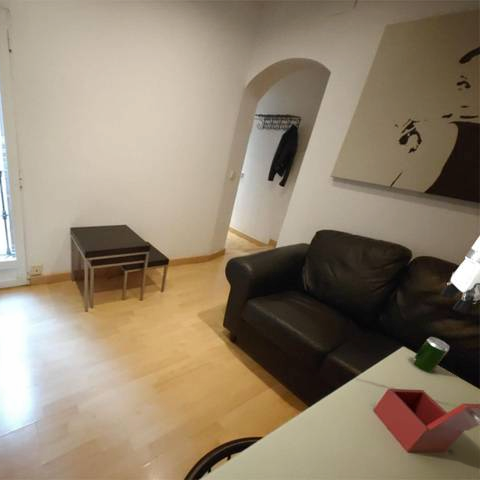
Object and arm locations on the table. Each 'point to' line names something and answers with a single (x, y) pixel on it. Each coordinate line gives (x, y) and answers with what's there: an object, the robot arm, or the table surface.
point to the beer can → (430, 354)
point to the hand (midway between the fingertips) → (452, 304)
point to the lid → (458, 418)
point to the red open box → (414, 420)
